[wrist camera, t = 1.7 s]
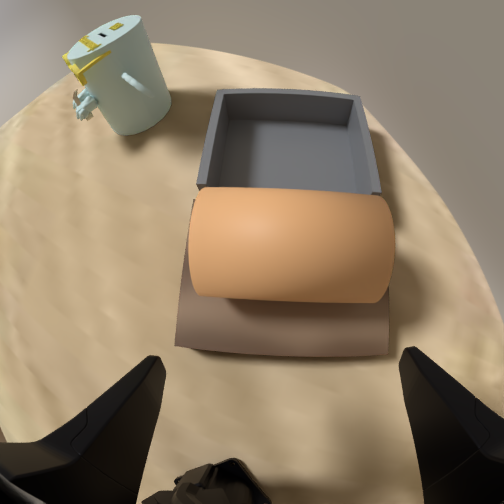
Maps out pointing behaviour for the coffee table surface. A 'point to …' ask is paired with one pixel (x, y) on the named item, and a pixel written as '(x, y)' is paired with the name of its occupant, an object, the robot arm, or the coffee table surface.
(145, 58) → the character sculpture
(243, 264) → the roller
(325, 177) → the tray
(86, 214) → the coffee table surface
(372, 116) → the coffee table surface
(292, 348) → the board
